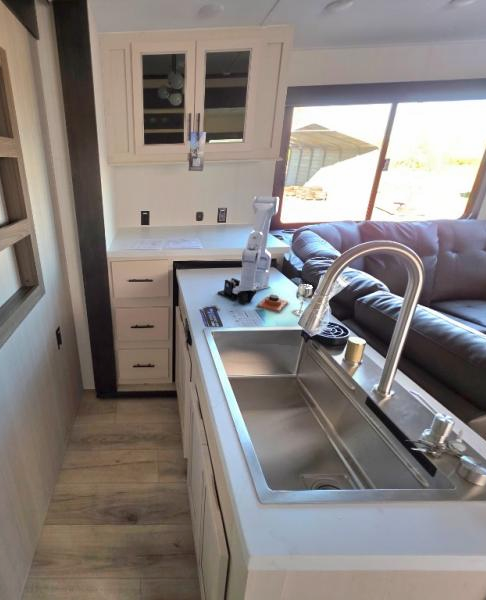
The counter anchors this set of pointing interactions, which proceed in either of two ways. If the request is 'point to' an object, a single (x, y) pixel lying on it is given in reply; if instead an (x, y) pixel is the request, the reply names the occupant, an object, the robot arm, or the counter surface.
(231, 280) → the lever
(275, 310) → the block
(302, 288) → the wineglass
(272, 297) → the button
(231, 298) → the bracket
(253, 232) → the robot arm
